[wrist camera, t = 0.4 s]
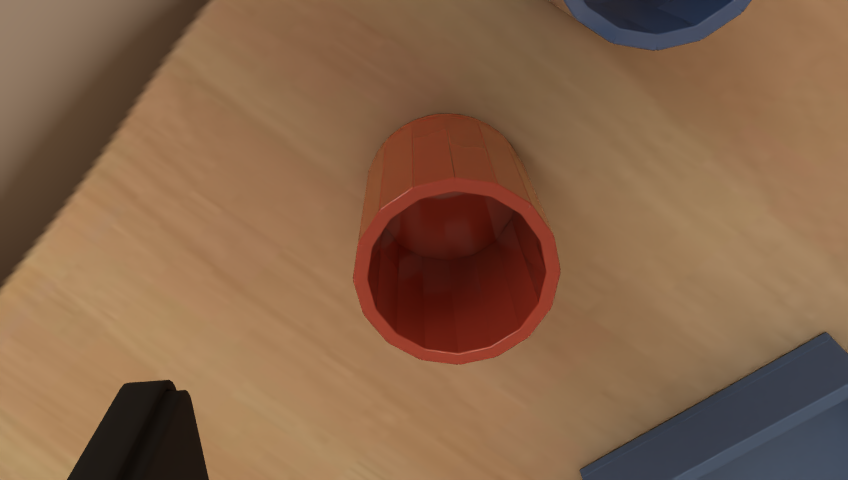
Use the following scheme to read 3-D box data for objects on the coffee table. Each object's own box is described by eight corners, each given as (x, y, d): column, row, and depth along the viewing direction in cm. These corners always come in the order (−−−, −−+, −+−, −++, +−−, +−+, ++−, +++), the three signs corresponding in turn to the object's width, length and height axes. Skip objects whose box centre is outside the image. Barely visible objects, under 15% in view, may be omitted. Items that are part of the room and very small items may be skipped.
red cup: (334, 173, 28) (312, 255, 21) (466, 80, 26) (484, 137, 20) (427, 289, 30) (432, 396, 23) (554, 206, 28) (597, 295, 22)
